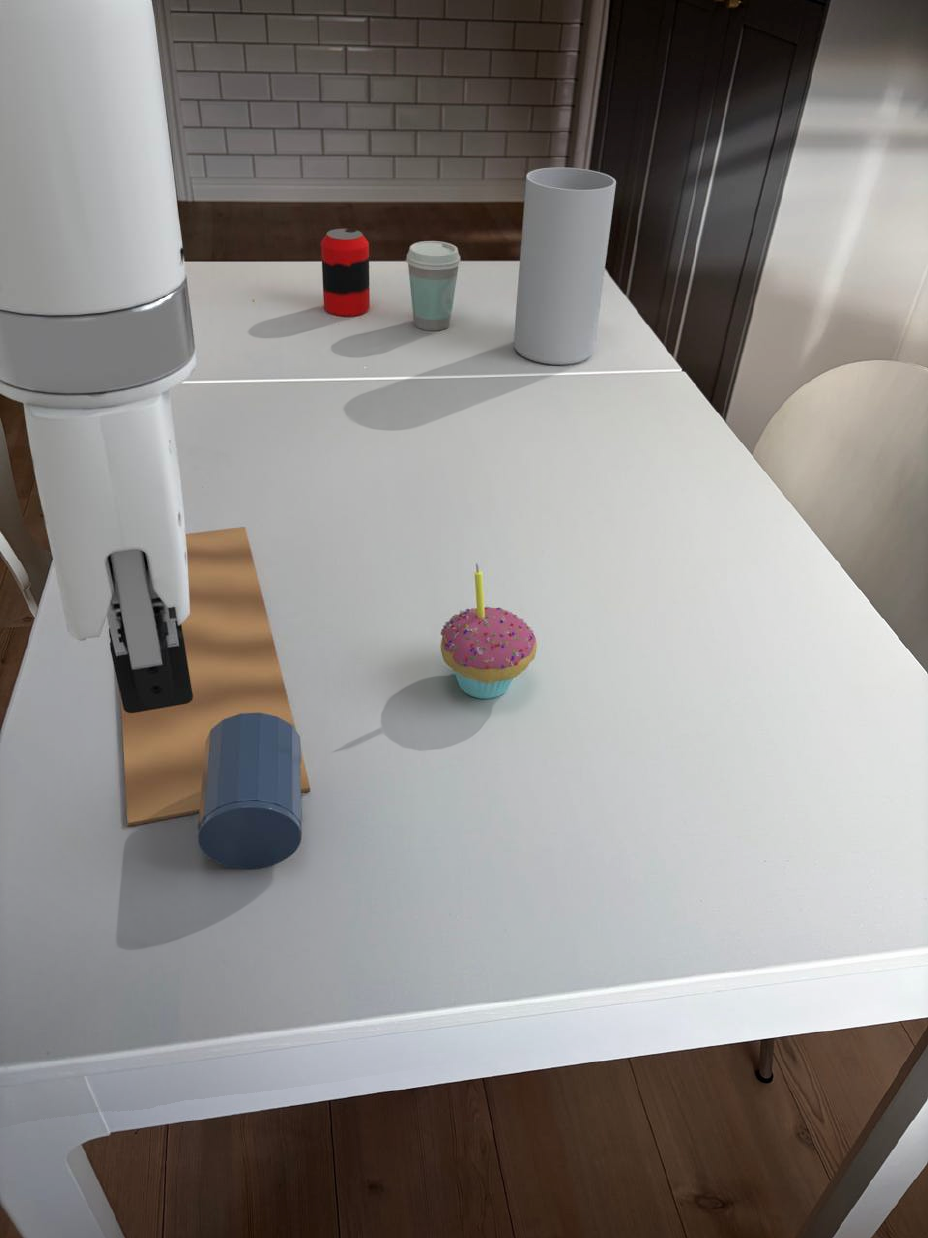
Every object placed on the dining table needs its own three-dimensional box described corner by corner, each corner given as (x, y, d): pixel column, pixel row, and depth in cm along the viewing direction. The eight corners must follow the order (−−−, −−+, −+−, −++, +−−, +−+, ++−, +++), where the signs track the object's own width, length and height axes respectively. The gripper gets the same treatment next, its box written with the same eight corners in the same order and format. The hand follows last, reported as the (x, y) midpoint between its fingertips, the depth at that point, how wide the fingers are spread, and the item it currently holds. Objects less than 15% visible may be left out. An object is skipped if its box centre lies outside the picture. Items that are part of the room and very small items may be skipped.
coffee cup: (446, 337, 155) (449, 260, 148) (396, 328, 158) (397, 251, 150) (466, 319, 162) (469, 244, 155) (417, 310, 164) (419, 236, 157)
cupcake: (419, 677, 91) (421, 569, 83) (486, 640, 95) (494, 535, 88) (484, 727, 86) (492, 617, 78) (551, 685, 91) (565, 578, 83)
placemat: (310, 791, 79) (310, 787, 79) (128, 826, 76) (127, 823, 75) (245, 529, 109) (245, 526, 109) (112, 546, 106) (111, 542, 105)
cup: (273, 795, 68) (275, 701, 74) (178, 826, 69) (188, 731, 75) (317, 850, 72) (315, 757, 79) (228, 879, 73) (233, 785, 80)
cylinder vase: (545, 372, 146) (563, 194, 131) (497, 343, 154) (508, 172, 139) (610, 357, 152) (634, 184, 137) (560, 329, 160) (578, 163, 145)
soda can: (377, 305, 165) (376, 231, 158) (357, 320, 160) (355, 243, 152) (336, 297, 167) (334, 224, 160) (315, 312, 162) (312, 236, 154)
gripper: (-12, 269, 41) (73, 619, 52) (-34, 429, 30) (80, 830, 41) (173, 259, 43) (217, 597, 54) (217, 406, 32) (261, 793, 43)
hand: (158, 697), depth 48 cm, fingers closed
